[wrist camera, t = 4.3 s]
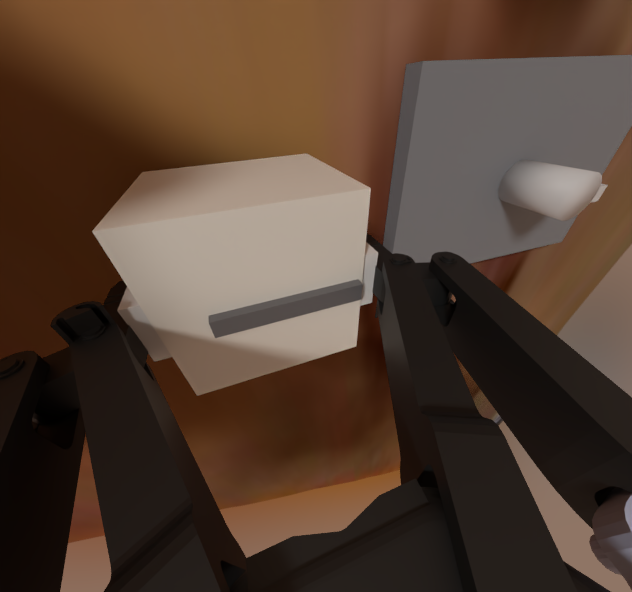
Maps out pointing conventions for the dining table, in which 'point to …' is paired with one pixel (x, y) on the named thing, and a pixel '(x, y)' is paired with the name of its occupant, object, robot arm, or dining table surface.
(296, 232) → the cream slotted box
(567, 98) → the board
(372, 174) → the dining table surface
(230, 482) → the dining table surface
